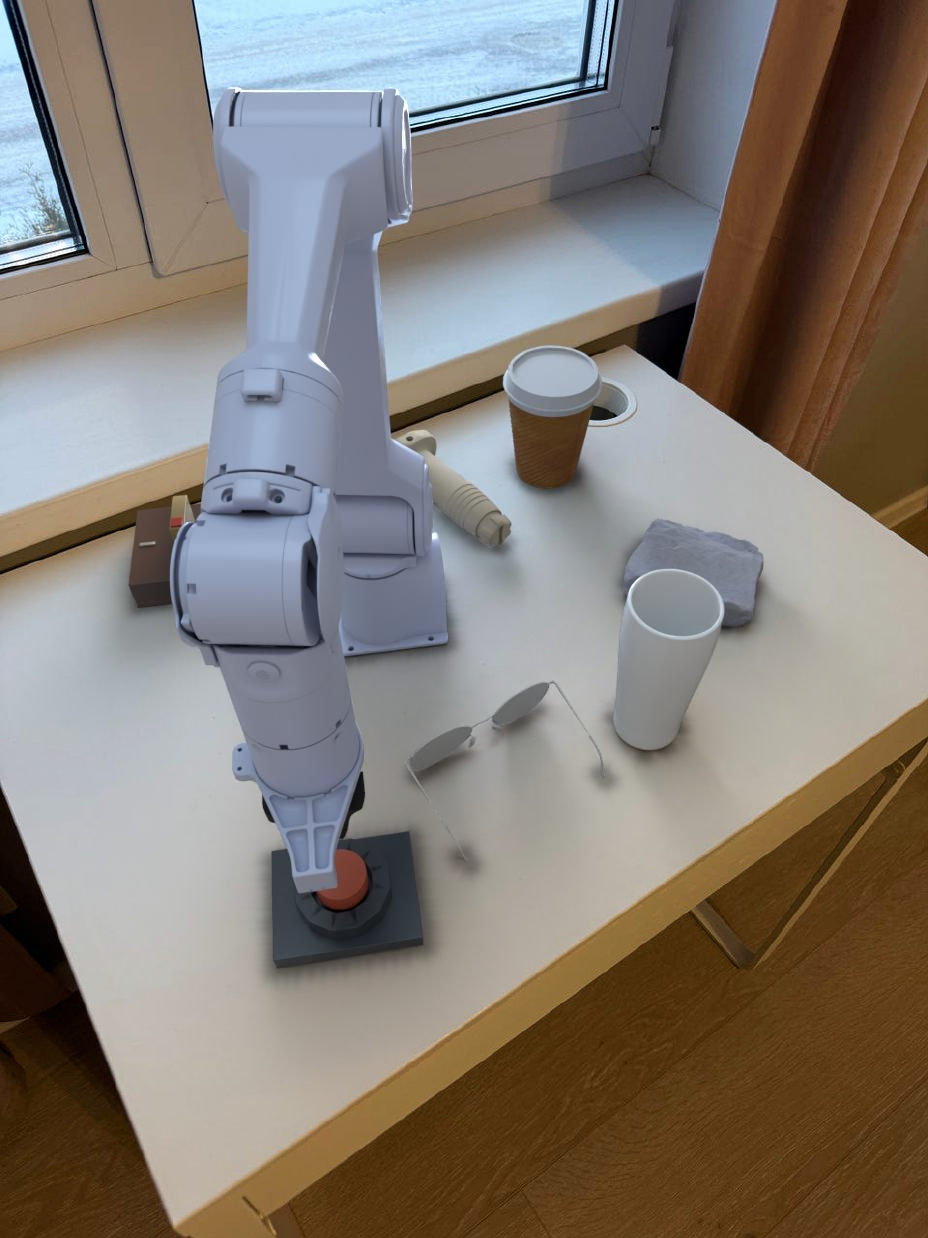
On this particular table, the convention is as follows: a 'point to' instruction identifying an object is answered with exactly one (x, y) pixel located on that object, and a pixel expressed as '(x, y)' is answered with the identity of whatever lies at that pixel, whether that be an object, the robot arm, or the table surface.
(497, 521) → the handle
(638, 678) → the drinking glass
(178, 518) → the thumbturn
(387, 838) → the block
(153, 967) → the table surface
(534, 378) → the disposable coffee cup
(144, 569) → the plate
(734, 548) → the stone block
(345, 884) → the bell button
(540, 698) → the sunglasses
